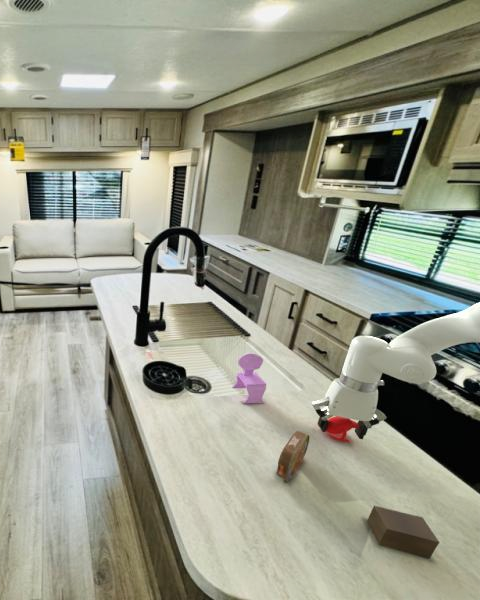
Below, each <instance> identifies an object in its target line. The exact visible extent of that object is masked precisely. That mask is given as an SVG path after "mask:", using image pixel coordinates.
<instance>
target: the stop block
mask: <svg viewBox="0 0 480 600" xmlns="http://www.w3.org/2000/svg"><path fill="white" fill-rule="evenodd" d="M366 522H367V525H368V526H369V529H370V531H371V534H372V535H373V537H374V538H375V540H376V542H377V544H378V546H380V547H384V548H388V549H392V550H396V551H399V552H402V553H407V554H409V555H412V556H413V555H414V556H417V557H421V558H425V559H429V560H430V559H431V557H432V555H433V554H434V552H435V551H436V549H437V547H438V546H439V544H440V541H439V539H438V538H437V537H436V535H435V533H434V532H433V531H432V529H431V527H430V526H429V524H428V523H427V522H426V520H425V519H424V517H422V516H419V515H416V514H415V515H414V514H410V513H406V512H403V511H399V510H394V509H392V508H391V509H390V508H386V507H382V506H377V505H373V507H372V509H371V511H370V514H369V516H368V518H367V520H366Z"/></svg>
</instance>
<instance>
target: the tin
mask: <svg viewBox="0 0 480 600" xmlns="http://www.w3.org/2000/svg"><path fill="white" fill-rule="evenodd" d="M309 442H310V435H309V434H306V433H304V432H301V431H299V430H297V431H295V432H294V433H293V434H292V436H291V437H290V438H289V440H288V441H287V442H286V444H285V446H284V447H283V449H282V451H281V453H280V455H279V457H278V460H277V468H276V476H278V477H279V478H281V479H283V480H285V481H286V482H287V483H289V482H290V481H291V480H292V478H294V476H295V474H296V473H297V471H298V469H299V467H300V466H301V464H302V463H303V461H304V458H305V456H306V453H307V450H308V447H309V444H310V443H309Z"/></svg>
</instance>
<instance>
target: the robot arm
mask: <svg viewBox="0 0 480 600" xmlns="http://www.w3.org/2000/svg"><path fill="white" fill-rule="evenodd" d="M467 343H480V301H479V302H477V303H476V304H473V305H472V306H470V307H468V308H466V309H464V310H462V311H459V312H456V313H455V312H454V313H451V314H447V315H444V316H441V317H438V318H434V319H430V320H428V321H425V322H423V323H420V324H418V325H416V326H415V327H412V328H411V329H409V330H407V331H405V332H402V333H401V334H399V335H398V336H396V337H394V338H393V339H392V340H391V341H390V342H389V343H388V342H387V341H385V340H384V339H381V338H378V337H374V336H370V335H357V336H355V337H353V339H351V342H350V345H349V348H348V350H347V354H346V356H345V359H344V363H343V366H342V368H341V372H340V375H339V378H337V377H336V378H334V380H333V381H332V382H331V384H330V386H329V387H328V389H327V391H326V393H325V395H324V398H321V399H318V400H314V401H312V402H311V405H312V408H313V409H314V411H315V413H316V414H317V415H318V416H319V418H318V420H317V426H318V427H319V429H320V431H321V432H322V433H326V429H327V426H328V423H329V422H328V419H330V418H332V417H336V416H337V417H343V418H348V419H351V420H353V421H357V423H358V424H359V425H360V427H359V428H354V433H355V435H356V436H357V438H358V439H359V440H364V437H365V436H366V435H367V433H368V430H369V429H370V430H371V429H372V427H373V426H376V425H379V424H380V422H383V421H384V420H387V418H388V417H387V416H386V414H385V413H384V412H382V411H381V410H380V409H378V408H377V405H378V401H379V390H378V388H379V386H385V380H383V379H381V378H382V375H383V374H385V375H388V376H389V377H393V378H395V379H397V380H400V381H402V382H407V383H410V384H426V383H429V382H431V381H432V380H433V379H434V378H435V377H436V375H437V366H436V364H435V361H434V360H433V358H432V356H433V355H435V354H438V353H440V352H441V351H444V350H446V349H448V348H450V347H454V346H457V345H463V344H467ZM320 407H324V408H322V409H321V408H320Z"/></svg>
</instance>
